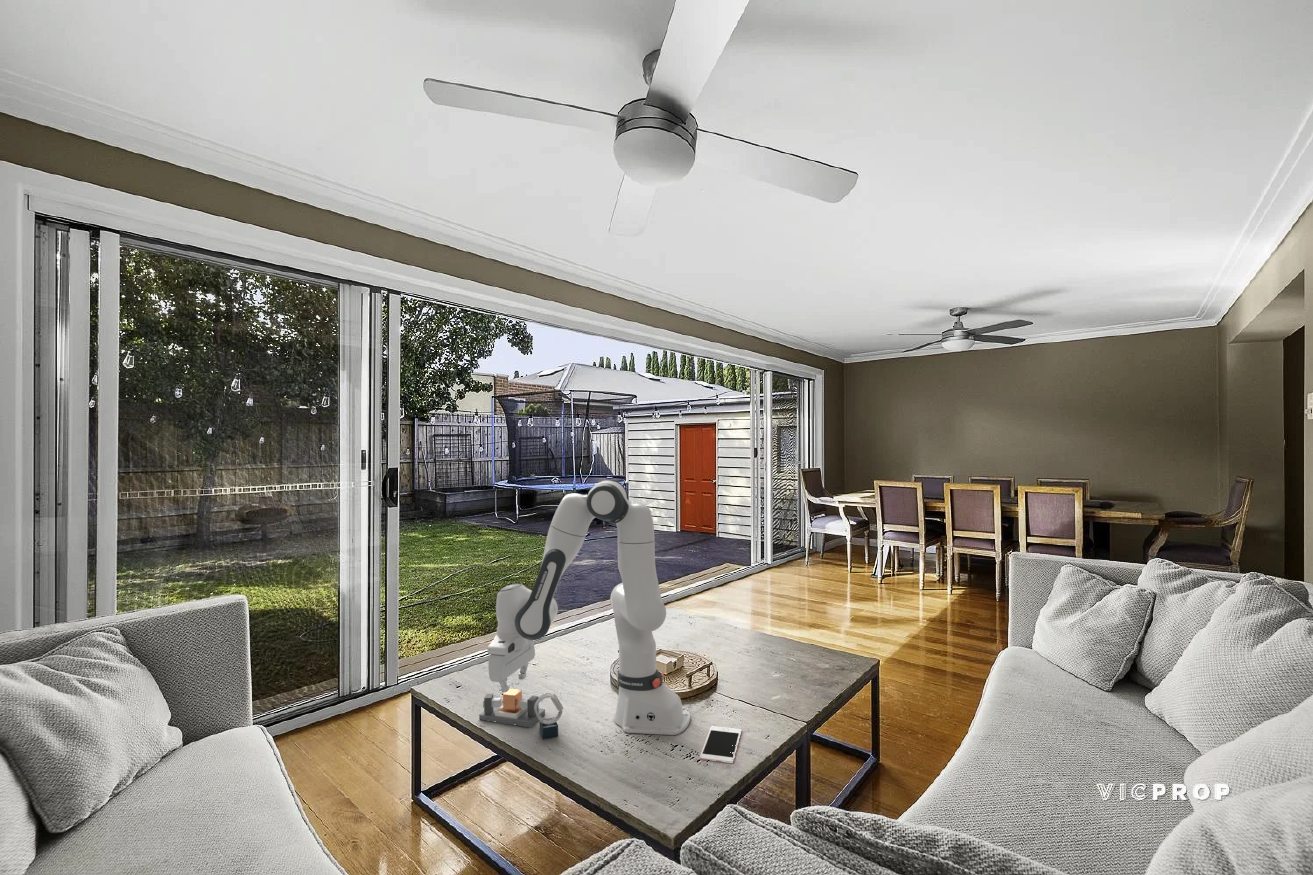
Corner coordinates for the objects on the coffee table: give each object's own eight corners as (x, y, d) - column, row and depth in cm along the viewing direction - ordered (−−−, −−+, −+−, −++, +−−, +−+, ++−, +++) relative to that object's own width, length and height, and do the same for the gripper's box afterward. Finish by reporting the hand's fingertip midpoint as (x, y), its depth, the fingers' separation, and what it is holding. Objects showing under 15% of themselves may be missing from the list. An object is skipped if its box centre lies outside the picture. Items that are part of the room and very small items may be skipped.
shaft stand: (545, 714, 185) (544, 692, 185) (529, 727, 177) (529, 705, 177) (496, 706, 190) (496, 686, 190) (479, 719, 182) (479, 697, 182)
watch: (565, 735, 172) (564, 696, 172) (536, 740, 169) (535, 700, 169) (561, 726, 177) (560, 688, 177) (533, 731, 174) (532, 692, 174)
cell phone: (742, 732, 173) (742, 728, 173) (733, 765, 156) (733, 761, 156) (711, 728, 176) (711, 725, 176) (699, 760, 158) (699, 757, 158)
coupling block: (510, 708, 186) (510, 688, 186) (521, 709, 185) (521, 690, 185) (503, 713, 182) (502, 693, 182) (514, 715, 181) (514, 695, 181)
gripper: (521, 627, 194) (523, 670, 195) (483, 649, 175) (485, 697, 175) (539, 628, 192) (540, 672, 193) (502, 651, 173) (504, 700, 173)
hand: (514, 684), depth 184 cm, fingers open, 8 cm apart
